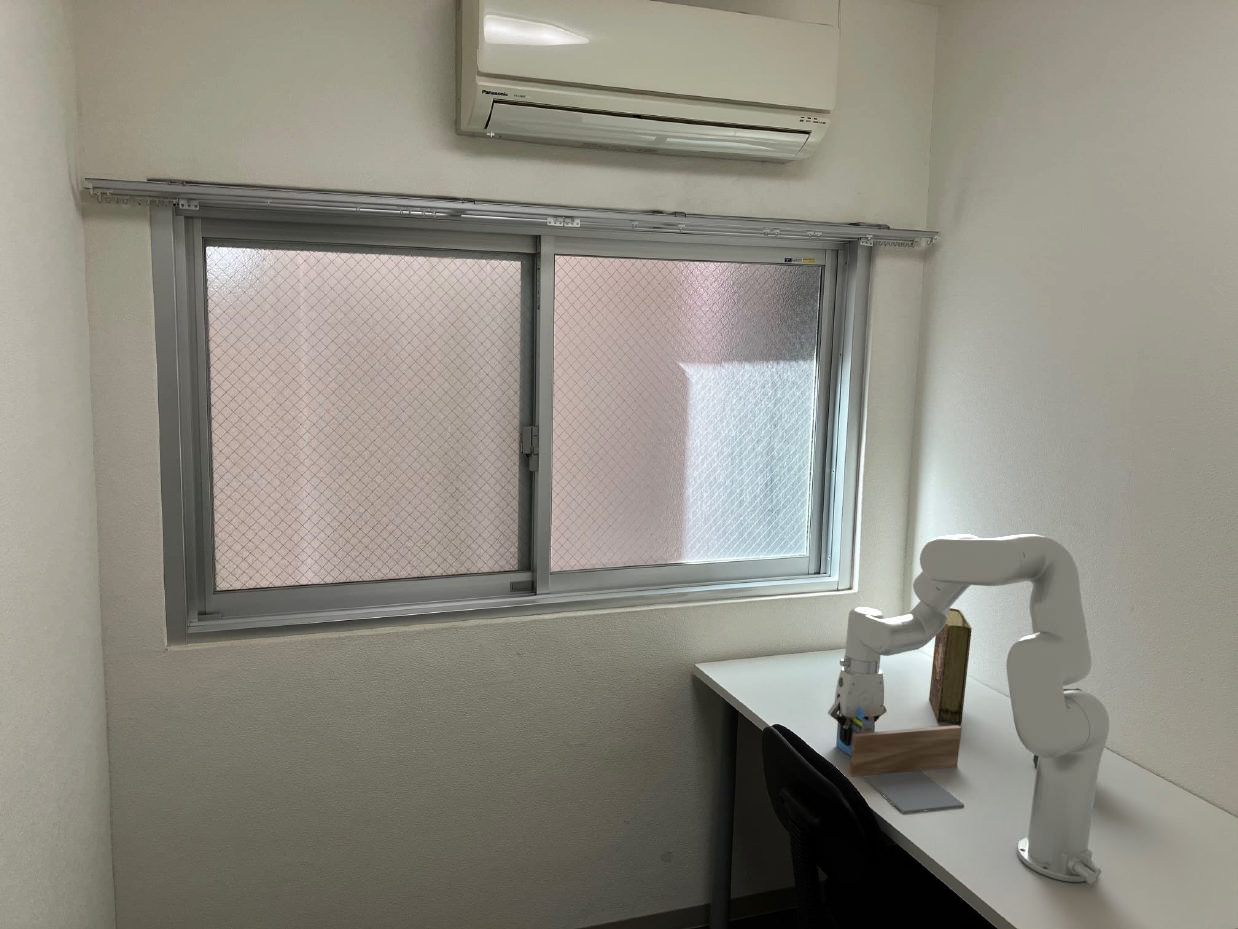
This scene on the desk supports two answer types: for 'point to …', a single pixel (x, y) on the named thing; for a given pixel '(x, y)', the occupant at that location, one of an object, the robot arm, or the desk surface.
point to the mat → (913, 792)
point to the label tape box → (855, 730)
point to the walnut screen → (904, 750)
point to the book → (950, 668)
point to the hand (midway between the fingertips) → (854, 741)
